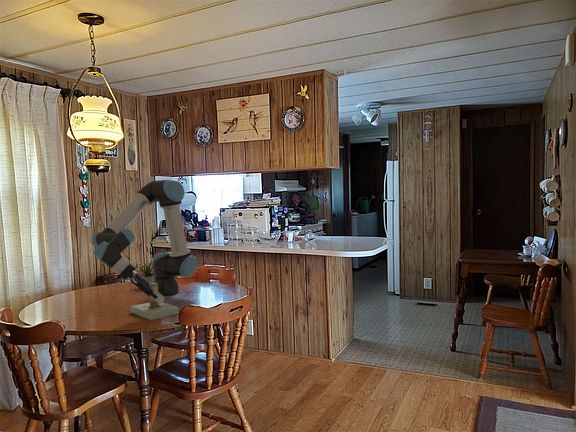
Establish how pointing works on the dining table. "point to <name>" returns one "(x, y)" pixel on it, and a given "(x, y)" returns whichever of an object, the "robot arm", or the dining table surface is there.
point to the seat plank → (154, 310)
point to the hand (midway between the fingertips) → (162, 301)
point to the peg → (152, 302)
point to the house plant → (148, 272)
